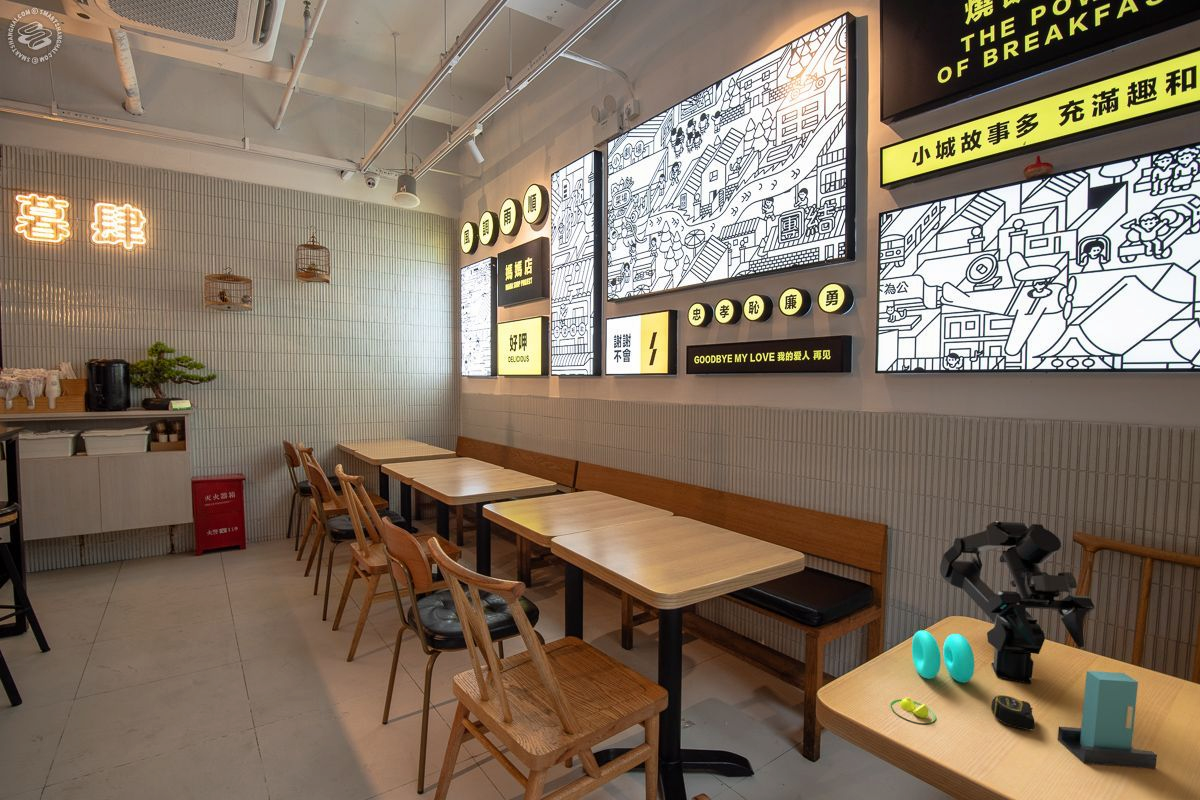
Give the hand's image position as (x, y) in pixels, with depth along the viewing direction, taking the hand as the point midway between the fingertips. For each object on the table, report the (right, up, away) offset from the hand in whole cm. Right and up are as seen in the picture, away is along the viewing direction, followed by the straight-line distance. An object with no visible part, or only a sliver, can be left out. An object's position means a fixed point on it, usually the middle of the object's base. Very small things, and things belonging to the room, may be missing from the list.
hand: (1057, 645), depth 118 cm
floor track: (-1, -14, -13) cm, 19 cm away
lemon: (-31, -13, -2) cm, 33 cm away
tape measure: (-11, -14, -4) cm, 18 cm away
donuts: (-17, -13, +12) cm, 24 cm away
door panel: (-1, -14, -13) cm, 19 cm away
